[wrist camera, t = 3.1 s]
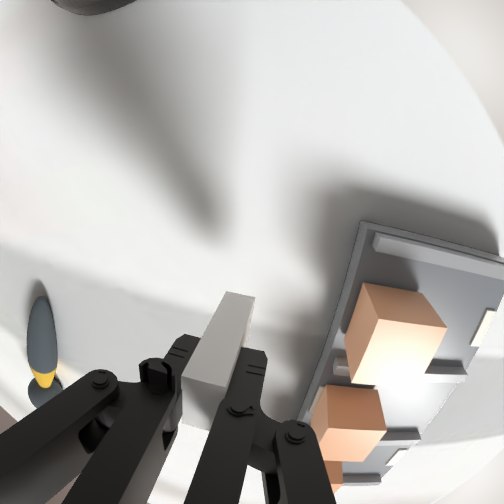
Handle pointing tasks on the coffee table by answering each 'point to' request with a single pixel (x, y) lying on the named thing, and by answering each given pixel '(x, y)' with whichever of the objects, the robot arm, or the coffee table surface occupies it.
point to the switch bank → (449, 351)
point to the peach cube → (348, 423)
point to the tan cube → (334, 474)
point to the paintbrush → (42, 353)
